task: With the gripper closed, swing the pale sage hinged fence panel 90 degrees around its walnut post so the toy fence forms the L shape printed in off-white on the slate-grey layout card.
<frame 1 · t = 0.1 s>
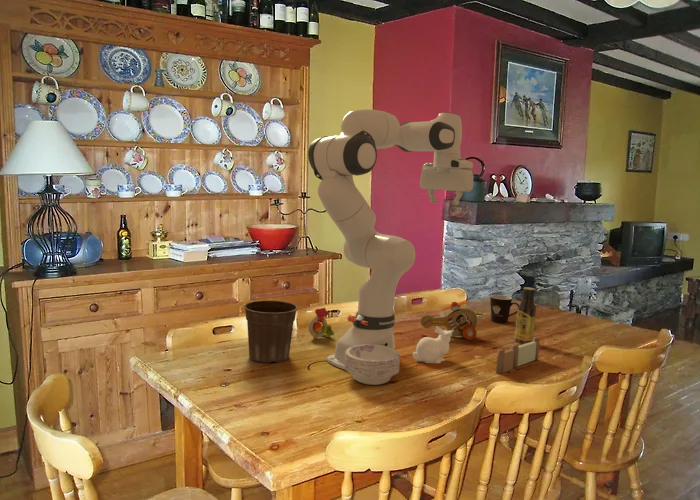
hand: (444, 204, 192), 48 cm above the table, fingers open, 8 cm apart
rabbit: (434, 362, 176), on the table
toy helicopter: (450, 337, 204), on the table
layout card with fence: (503, 363, 177), on the table
plant pot: (269, 357, 174), on the table
coffee mug: (501, 322, 228), on the table
sage gate panel: (527, 351, 176), point 4 cm above the table, hinge at 0.0°
sauce bottle: (523, 343, 200), on the table
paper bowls: (371, 379, 158), on the table, touching arm
bird rattle: (320, 338, 197), on the table
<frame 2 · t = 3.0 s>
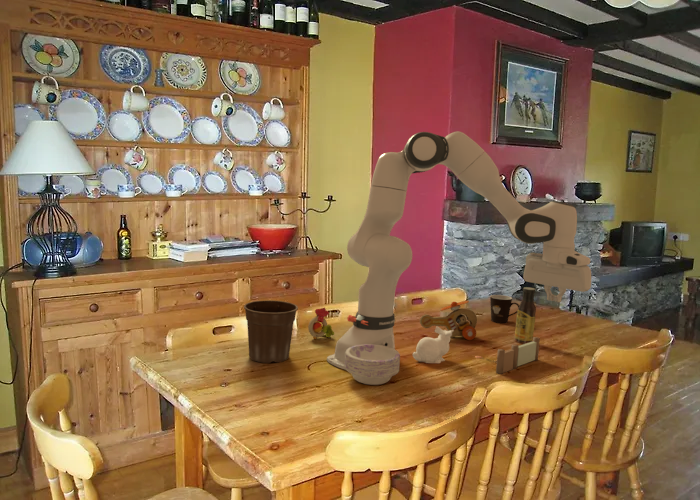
hand: (553, 301, 171), 21 cm above the table, fingers closed
nothing on the table moved.
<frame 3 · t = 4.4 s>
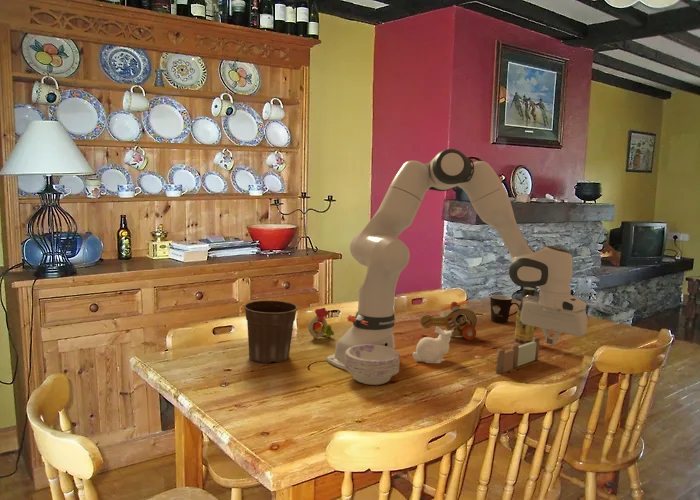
hand: (550, 343, 174), 8 cm above the table, fingers closed
nothing on the table moved.
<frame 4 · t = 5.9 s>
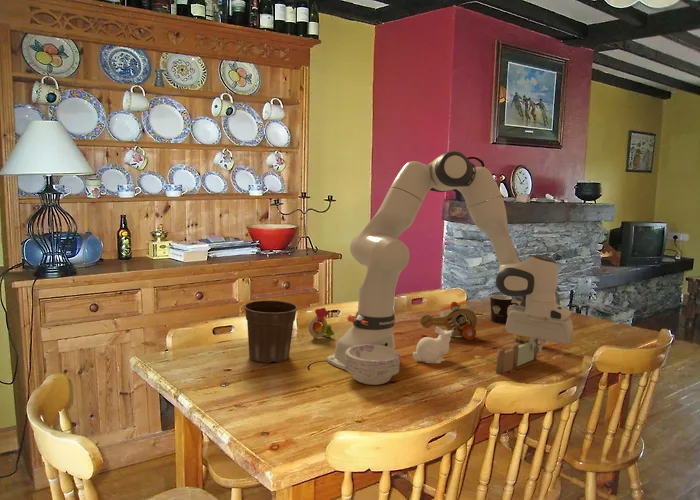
hand: (536, 351, 177), 4 cm above the table, fingers closed
sage gate panel: (526, 351, 177), point 4 cm above the table, hinge at 2.5°, touching gripper
everything else where it was.
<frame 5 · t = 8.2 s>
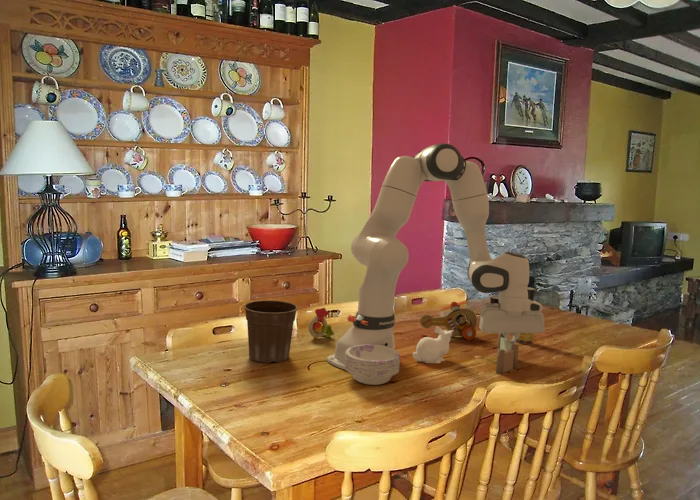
hand: (510, 345, 181), 4 cm above the table, fingers closed
sage gate panel: (506, 348, 179), point 4 cm above the table, hinge at 50.6°, touching gripper
everything else where it was.
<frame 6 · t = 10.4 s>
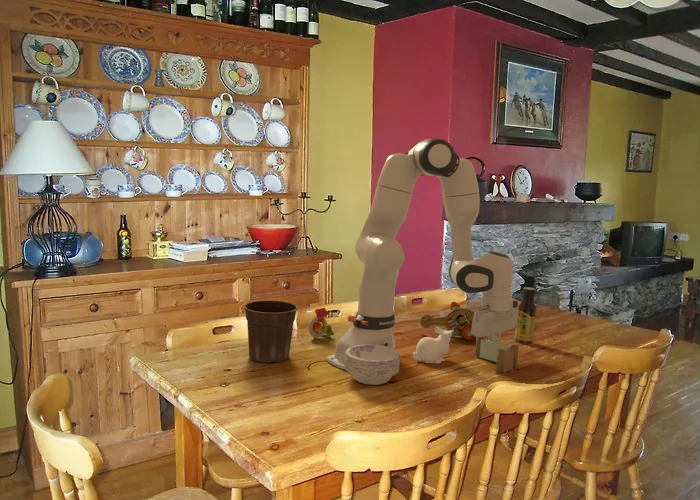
hand: (493, 345, 181), 4 cm above the table, fingers closed
sage gate panel: (493, 349, 177), point 4 cm above the table, hinge at 90.9°
everything else where it was.
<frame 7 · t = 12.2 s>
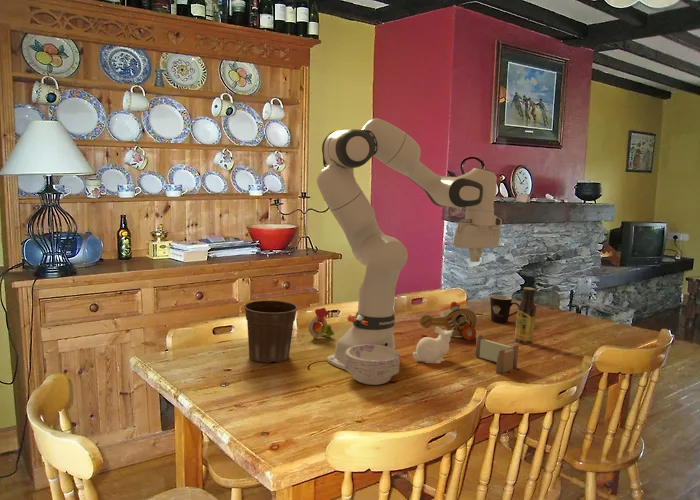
hand: (474, 261, 184), 30 cm above the table, fingers closed
nothing on the table moved.
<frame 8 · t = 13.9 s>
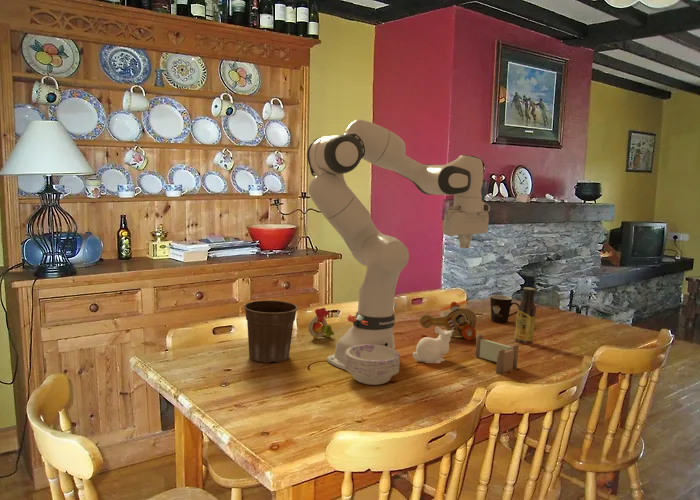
hand: (464, 248, 186), 34 cm above the table, fingers closed
nothing on the table moved.
at the end: sage gate panel at +91° (first picture: +0°); the gripper is holding nothing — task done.
